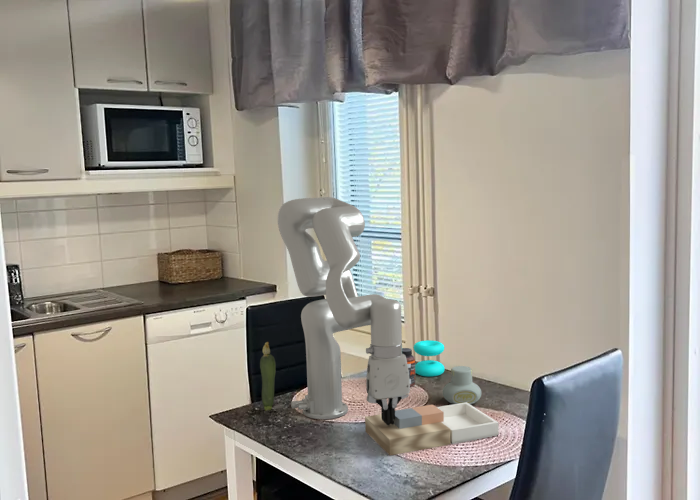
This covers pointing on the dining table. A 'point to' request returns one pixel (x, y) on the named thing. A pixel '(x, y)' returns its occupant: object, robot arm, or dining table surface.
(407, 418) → the tile
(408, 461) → the dining table surface
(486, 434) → the box
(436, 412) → the tile
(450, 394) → the air freshener
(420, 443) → the board
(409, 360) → the supplement bottle
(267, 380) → the vegetable
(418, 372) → the donuts
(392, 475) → the dining table surface
